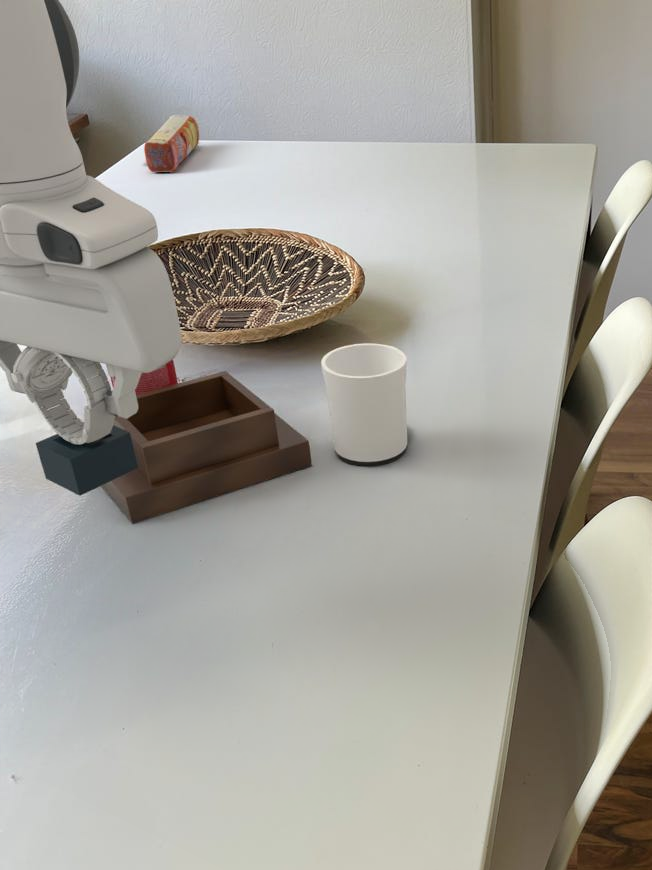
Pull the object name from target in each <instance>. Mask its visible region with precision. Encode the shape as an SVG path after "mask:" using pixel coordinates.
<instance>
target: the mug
mask: <svg viewBox="0 0 652 870" xmlns="http://www.w3.org/2000/svg"><path fill="white" fill-rule="evenodd" d="M407 362H408V361H407V356H406V354H405V353H404V352H403V351H402V350H400V349H399V348H397V347H396V346H393V345H387V344H380V343H370V342H369V343H368V342H365V343H354V344H347V345H344V346H340V347H337V348H335V349H333V350H330V351H329V352H327V353H326V354H325V355H323V357H322V359H321V360H320V363H321V370H322V377H323V381H324V386H325V390H326V395H327V396H326V397H327V403H328V410H329V418H330V419H329V420H330V426H331V433H332V442H333V448H334V453H335V455H336V456H337V457H338V459H340V460H342V461H343V462H345V463H346V464H350V465H354V466H360V467H376V466H381V465H382V466H383V465H386V464H387V465H388V464H390V463H392V462H395V461H397V460H398V459H400V458H402V456H403V455H404V454H405V453H406V451H407V449H408V421H407V420H408V419H407V418H408V417H407V387H406V386H407V366H408V365H407Z"/></svg>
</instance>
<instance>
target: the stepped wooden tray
mask: <svg viewBox="0 0 652 870" xmlns="http://www.w3.org/2000/svg"><path fill="white" fill-rule="evenodd" d="M136 398H137V402H138V411H137V412H136V413H135V414H134V415H132V416H130V417H129V418H127V419H126V418H121V417H118V416H115V418H114V423H113V425H114V426H116V427H119V428H121V429H123V430H125V431H128V432H130V435H131V439H132V444H133V448H134V452H135V457H136V461H137V466H138V468H136V469H134V470H132V471H130V472H128V473H126V474H124V475H122V476H120V477H118V478H116V479H114V480H112V481H110V482H108V483H106V484H104V485H102V486H101V488H102V489H103V490H104V491H105V492H106V494H107V495H108V496H109V498H111V500H112V501H113V502H114V503H115V504H116V506H117V507H118V508H119V510H120V511H121V512H122V514H124V515H125V516H126V518H127V519H128V520H129V522H130V523H131V524H136V523H139V522H142V521H144V520H148V519H151V518H154V517H157V516H160V515H163V514H166V513H170V512H172V511H176V510H179V509H182V508H185V507H188V506H191V505H195V504H198V503H200V502H203V501H206V500H210V499H212V498H213V499H214V498H216V497H219V496H222V495H225V494H228V493H231V492H234V491H237V490H240V489H244V488H247V487H250V486H254V485H257V484H260V483H263V482H266V481H268V480H272V479H275V478H279V477H281V476H284V475H287V474H290V473H293V472H296V471H300V470H303V469H306V468H309V467H312V466H313V464H312V463H313V462H312V456H311V448H310V447H311V446H310V440H308V439H307V438H306V437H305V436H304V435H303V434H301V433H300V432H299V431H297V430H296V429H295V428H294V427H293V426H291V425H290V424H289V423H288V422H286V421H285V420H284V419H283V418H281V417H280V416H279V415H278V414H277V413H276V412H275V410H274V409H273V408H272V407H271V406H270V405H269V404H267V403H266V402H265V401H263V400H262V398H260V397H259V396H257V395H256V394H255V393H253V392H252V391H251V390H250V389H249V388H247V387H246V386H245V385H244V384H242V382H240V381H239V380H237V379H236V378H235V377H234V376H232V374H230V373H229V372H228V371H226V370H224V371H219V372H215V373H212V374H207V375H205V376H200V377H197V378H193V379H189V380H186V381H181V382H178V384H174V385H170V386H166V387H162V388H159V389H155V390H151V391H147V392H144V393H140V394H136Z"/></svg>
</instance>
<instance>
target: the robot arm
mask: <svg viewBox="0 0 652 870" xmlns="http://www.w3.org/2000/svg"><path fill="white" fill-rule="evenodd" d="M71 21H72V20H71V19H70V17H69V15H68V13H67V12H66V9H65V8H64V6H63V4H62V3H61V1H60V0H0V368H1V370H2V371H3V372H4V373H5V376H6V379H7V382H8V386H9V389H10V390H11V391H12V392H15V393H20V394H23V395H26V393H25V392H24V390H23V388H22V386H21V384H19V383H15V382H14V381H13V379H12V376H11V373H13V369H14V365H15V362H16V360H17V358H18V357H19V355H20V354H21V353H22V352H23V351H22V350H21V349H20V347H19V346H24V347H33V348H37V349H41V350H46V351H50V352H55V353H59V354H64V355H68V356H73V357H77V358H81V359H86V360H90V361H95V362H99V363H100V364H104V365H105V366H106V371H107V374H108V376H109V377H110V376H111V377H115V382H114V387H113V386H112V389H111V391H109V392H107V393H105V394H104V395H103V397H104V401H105V404H106V405H107V408H106V409H107V412H108V414H110V415H114V416H118V417H121V418H126V419H127V418H129V417H130V416H132V415H134V414H135V413H136V412H137V411H138V402H137V398H136V393H135V389H136V387H137V385H138V382H139V379H140V376H141V373H142V372H143V373H149V372H152V371H154V370H156V369H158V368H159V367H161V366H163V365H165V364H166V363H168V362H169V361H171V360H173V361H174V359H175V358H176V356H177V355H178V353H179V352H180V349H181V347H182V344H183V340H182V331H181V325H180V324H181V323H180V319H179V314H178V308H177V304H176V299H175V295H174V292H173V291H174V290H173V287H172V284H171V280H170V277H169V273H168V271H167V269H166V267H165V265H164V262H163V261H162V259H161V258H160V256H159V255H158V254H157V253H156V252H155V251H154V250H152V249H151V248H150V247H149V246H151V245H152V244H154V243H156V242H157V241H158V238H159V230H158V223H157V221H156V218H155V216H154V214H153V213H152V212H151V211H150V210H148V209H147V208H146V207H144V206H142V205H140V204H138V203H136V202H134V201H133V200H131V199H129V198H127V197H125V196H123V195H121V194H120V193H118V192H116V191H115V190H113V189H111V188H109V187H108V186H106V185H105V184H103V183H102V182H101V181H99V180H98V179H97V178H95V177H93V176H91V175H87V173H86V168H85V163H84V160H83V155H82V152H81V150H80V148H79V145H78V143H77V142H76V140H75V138H74V135H73V133H72V131H71V130H72V129H71V128H70V125H69V120H68V114H67V108H68V106H69V104H70V102H71V100H72V98H73V97H74V93H75V90H76V87H77V83H78V79H79V71H80V49H79V43H78V38H77V35H76V31H75V29H74V25H73V23H72V22H71Z"/></svg>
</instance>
